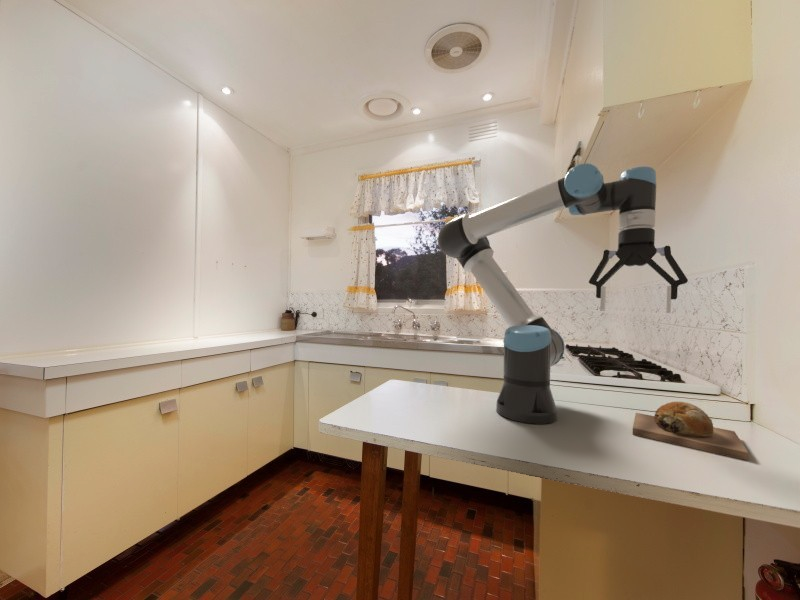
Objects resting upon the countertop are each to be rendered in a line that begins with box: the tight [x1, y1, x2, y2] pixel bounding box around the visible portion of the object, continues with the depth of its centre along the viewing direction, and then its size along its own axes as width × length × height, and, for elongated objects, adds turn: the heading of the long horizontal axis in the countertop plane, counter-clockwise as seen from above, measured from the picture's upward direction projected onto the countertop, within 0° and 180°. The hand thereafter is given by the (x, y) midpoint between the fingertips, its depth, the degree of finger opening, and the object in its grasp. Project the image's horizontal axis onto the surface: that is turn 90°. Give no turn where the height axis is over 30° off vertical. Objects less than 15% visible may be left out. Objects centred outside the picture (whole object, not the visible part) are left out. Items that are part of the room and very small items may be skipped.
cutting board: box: [632, 412, 749, 461], centre depth 72 cm, size 18×14×2 cm
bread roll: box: [653, 401, 714, 437], centre depth 72 cm, size 10×10×8 cm
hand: (633, 311), depth 81 cm, fingers open, 13 cm apart
